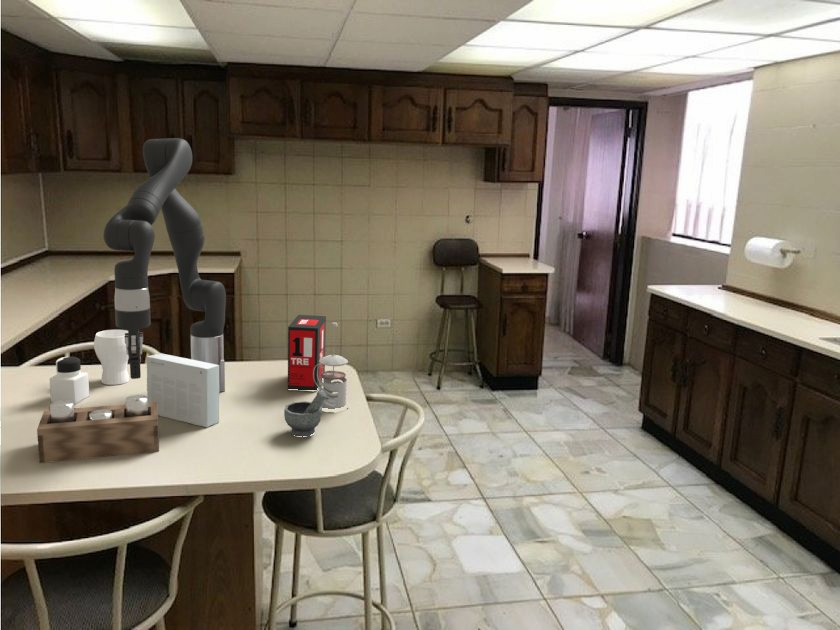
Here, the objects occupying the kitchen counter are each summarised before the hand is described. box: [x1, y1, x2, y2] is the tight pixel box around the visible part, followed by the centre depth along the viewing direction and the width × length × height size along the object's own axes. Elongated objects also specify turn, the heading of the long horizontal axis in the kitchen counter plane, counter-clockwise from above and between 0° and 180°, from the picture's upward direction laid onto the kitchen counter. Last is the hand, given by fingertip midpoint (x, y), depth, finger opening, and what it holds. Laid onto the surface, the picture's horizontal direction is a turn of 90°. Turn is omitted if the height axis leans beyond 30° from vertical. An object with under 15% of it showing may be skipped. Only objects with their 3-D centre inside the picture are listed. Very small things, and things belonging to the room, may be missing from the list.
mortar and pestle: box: [283, 390, 327, 437], centre depth 175 cm, size 11×9×12 cm
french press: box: [313, 322, 349, 409], centre depth 194 cm, size 10×12×25 cm
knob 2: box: [125, 394, 148, 417], centre depth 163 cm, size 5×5×5 cm
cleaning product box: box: [287, 314, 327, 391], centre depth 214 cm, size 16×9×20 cm, turn 179°
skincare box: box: [146, 352, 220, 428], centre depth 181 cm, size 21×5×16 cm, turn 65°
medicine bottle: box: [49, 356, 90, 405], centre depth 190 cm, size 7×7×12 cm
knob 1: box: [49, 400, 75, 423], centre depth 158 cm, size 5×5×5 cm
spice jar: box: [89, 409, 112, 420], centre depth 161 cm, size 5×5×5 cm
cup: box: [93, 329, 130, 386], centre depth 206 cm, size 11×11×15 cm
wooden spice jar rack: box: [36, 402, 160, 464], centre depth 162 cm, size 25×12×8 cm, turn 111°
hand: (135, 377), depth 162 cm, fingers closed
